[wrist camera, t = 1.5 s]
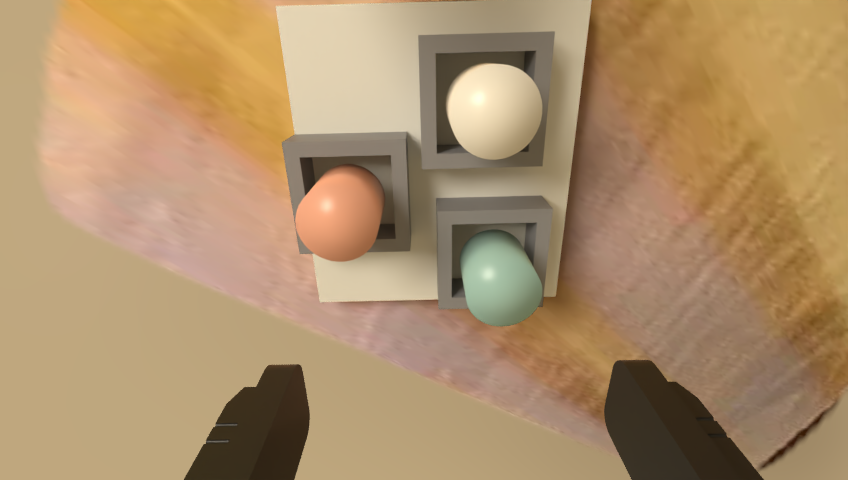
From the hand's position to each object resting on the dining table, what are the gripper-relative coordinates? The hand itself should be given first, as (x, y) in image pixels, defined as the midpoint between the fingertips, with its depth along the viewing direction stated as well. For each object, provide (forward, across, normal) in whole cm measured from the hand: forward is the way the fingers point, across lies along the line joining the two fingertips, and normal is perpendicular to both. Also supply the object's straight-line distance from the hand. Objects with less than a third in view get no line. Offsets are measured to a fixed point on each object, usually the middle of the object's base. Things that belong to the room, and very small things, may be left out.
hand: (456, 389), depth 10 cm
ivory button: (+19, -3, -5) cm, 20 cm away
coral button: (+19, +6, +1) cm, 20 cm away
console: (+24, 0, 0) cm, 24 cm away
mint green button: (+19, -4, +6) cm, 21 cm away
